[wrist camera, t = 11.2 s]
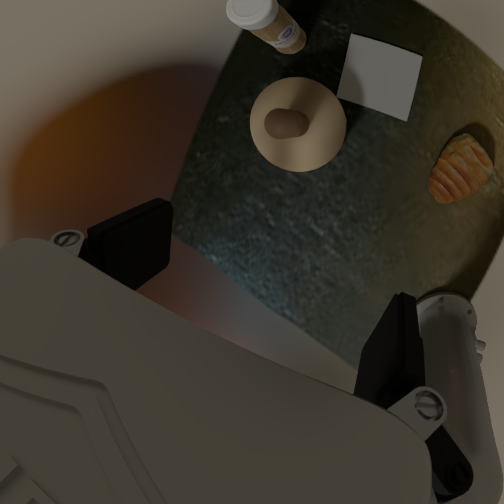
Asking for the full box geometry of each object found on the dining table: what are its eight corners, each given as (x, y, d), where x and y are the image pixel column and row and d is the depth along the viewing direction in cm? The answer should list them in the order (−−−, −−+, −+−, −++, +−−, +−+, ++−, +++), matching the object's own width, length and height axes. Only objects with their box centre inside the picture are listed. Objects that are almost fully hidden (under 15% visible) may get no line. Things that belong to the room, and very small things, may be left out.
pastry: (447, 213, 31) (453, 222, 28) (414, 174, 32) (418, 179, 28) (493, 167, 26) (504, 172, 23) (461, 126, 26) (470, 125, 23)
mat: (421, 57, 25) (422, 56, 24) (406, 121, 29) (406, 121, 29) (351, 34, 27) (351, 33, 27) (336, 97, 31) (336, 97, 31)
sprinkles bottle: (298, 59, 31) (259, 30, 20) (267, 47, 32) (216, 19, 20) (313, 31, 28) (279, -10, 17) (281, 20, 29) (235, -19, 18)
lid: (356, 92, 27) (352, 83, 21) (331, 183, 32) (320, 196, 27) (263, 70, 30) (238, 60, 24) (244, 155, 35) (217, 163, 29)
